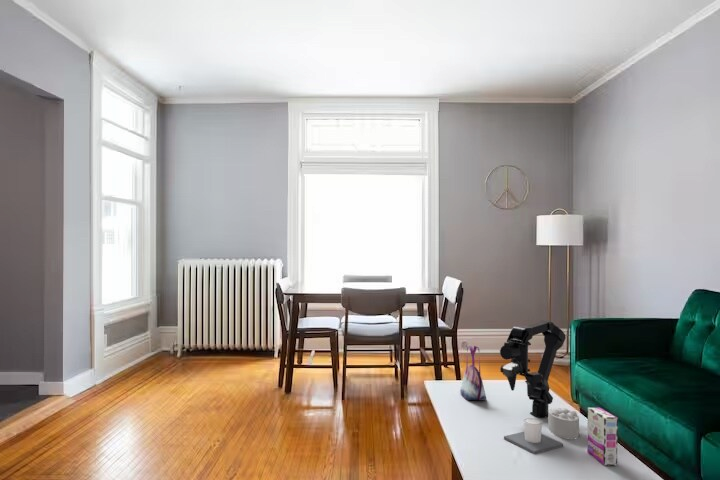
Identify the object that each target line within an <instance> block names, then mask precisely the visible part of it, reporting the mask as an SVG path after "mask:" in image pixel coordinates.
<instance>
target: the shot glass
mask: <svg viewBox="0 0 720 480" xmlns="http://www.w3.org/2000/svg"><path fill="white" fill-rule="evenodd" d="M542 429H543V421H542V420H540V419H536V418H529V417H528V418H524V419H523V432H524V433H525V440H526V441H528V442H532V443H538V442H540V441H541V434H542Z"/></svg>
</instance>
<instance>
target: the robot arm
mask: <svg viewBox="0 0 720 480" xmlns="http://www.w3.org/2000/svg"><path fill="white" fill-rule="evenodd" d="M541 334H542V336H543V342H544V346H545V347H544V351H543V353H542V356H541V360H540V364H539V367H538V369H537V372H536V371H533V372H531V369H530V368H529V363H530V362H531V359H530V358H529V346H531V345H532V343H531V342H530V340H532V339H533V336H536V335H541ZM566 337H567V336H566V334H565V332H564V331H563V330H562V329H561V328H559V327H558V326H557V325H556V324H555V323H553V322H552V321H548V320H541V321H539V322H535V323H532V324H528V325H514V326H513V327H512V329H511V331H510V332H509V335H508V337H507V339H506V342H504V343H503V345H502V346H501V347H500V350H499V354H500V356H501V357H502V359H504V360H510V362H509V363H507V364H503V365H501V367H500V373H502V375H503V376H505V377H506V379H507V381H508V384H509V388H510V391H514V390H515V387H516V383H517V382H516V380H517V376H518V375H519V376H522V377H524V378H525V380H524V382H525V384H526V390H527V391H526V392H527V397H528V398H529V399H528V400H532V404H531V406H532V409H531V410H532V411H530V412H529V414H530V415H533V416H535V417H537V418H540V419H544V418H548V411H549V405H551V404H552V403H553V400H554V397H553V396H552V394H551V393H550V385H549V378H550V374H551V371H552V368H553V364H554V361H555V358H556V354H557V352H558V350H559V349H561V348H562V347H563V346H564V343H565V341H566Z"/></svg>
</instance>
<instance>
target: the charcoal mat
mask: <svg viewBox="0 0 720 480" xmlns="http://www.w3.org/2000/svg"><path fill="white" fill-rule="evenodd" d="M503 440H505V441H506V442H509V443H511V444H514V445H515V446H517V447H519V448H521V449H523V450H525V451H527V452H528V453H529V452H530V453H531V454H533V455H535V454H539V453H544V452H547V451H550V450H554V449H558V448H559V449H560V448H561V447H564V443H563V442H561V441H558V440H557V439H554V438H552V437H549V436H548V435H546V434H545V435H544V433H541V441H540V442H538V443H532V442H528V441H526V440H525V433H524V431H521V432H516V433H513V434H507V435H504V436H503Z"/></svg>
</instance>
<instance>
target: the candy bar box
mask: <svg viewBox="0 0 720 480" xmlns="http://www.w3.org/2000/svg"><path fill="white" fill-rule="evenodd" d="M618 423H619V418H618V417H617V416H616V415H613V414H612V413H610V412H608V411H606V410H605V409H604V408H601V407H598V406H597V407H587V443H586V445H587V450H586V451H587V454H589V455H590V456H592V457H593V458H594V459H595V460H596V461H597V462H599V463H600V464H602V465H603V466H605V467H609V466H608V465H617V466H618V437H619V436H618V435H619V434H618V431H619V430H618V428H619V427H618V425H619V424H618Z"/></svg>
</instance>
